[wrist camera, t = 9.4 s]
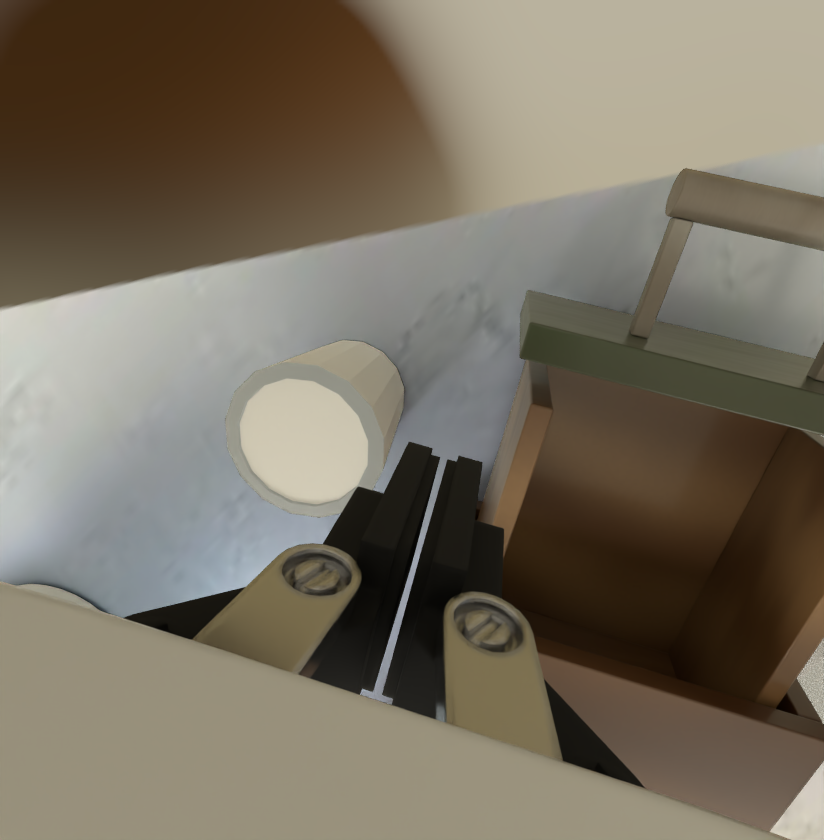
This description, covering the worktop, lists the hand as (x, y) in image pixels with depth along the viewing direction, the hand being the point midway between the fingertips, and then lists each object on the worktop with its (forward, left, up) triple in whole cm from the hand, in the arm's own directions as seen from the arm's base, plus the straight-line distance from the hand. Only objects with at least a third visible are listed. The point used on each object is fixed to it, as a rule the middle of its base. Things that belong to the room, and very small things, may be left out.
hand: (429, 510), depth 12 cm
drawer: (+8, -2, -14) cm, 17 cm away
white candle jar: (-6, -4, -16) cm, 17 cm away
